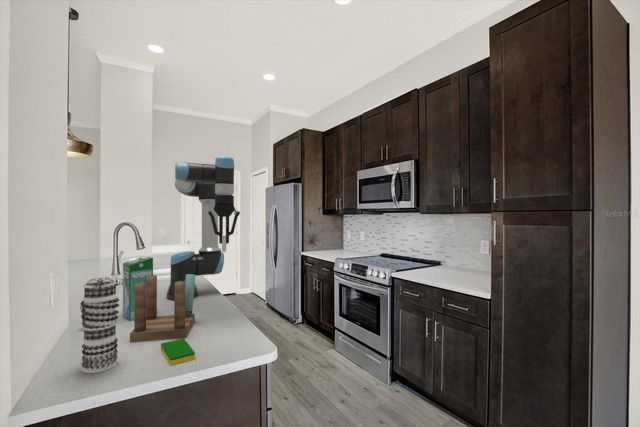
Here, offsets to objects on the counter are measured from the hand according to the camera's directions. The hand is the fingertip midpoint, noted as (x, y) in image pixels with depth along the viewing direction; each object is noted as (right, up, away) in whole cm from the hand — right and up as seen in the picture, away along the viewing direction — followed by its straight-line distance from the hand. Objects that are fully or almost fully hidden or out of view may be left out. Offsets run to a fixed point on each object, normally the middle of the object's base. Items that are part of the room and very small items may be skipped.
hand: (224, 251), depth 132 cm
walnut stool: (-18, -28, -12) cm, 36 cm away
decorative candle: (-24, -28, -40) cm, 55 cm away
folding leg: (-13, -23, -5) cm, 27 cm away
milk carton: (-38, -28, +5) cm, 48 cm away
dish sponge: (-5, -29, -32) cm, 43 cm away
